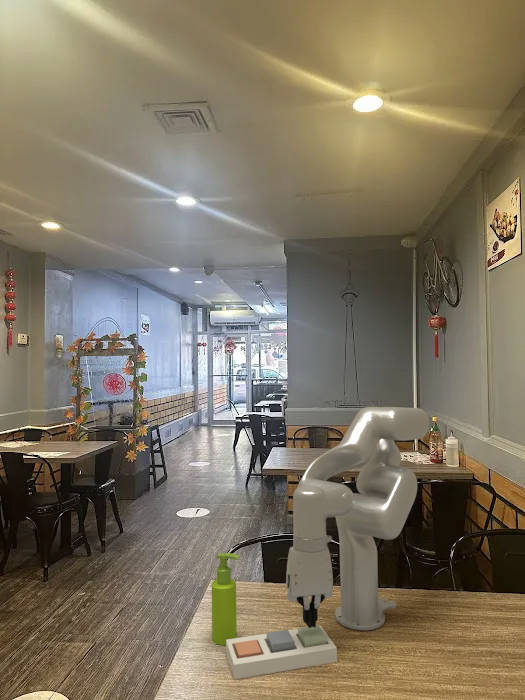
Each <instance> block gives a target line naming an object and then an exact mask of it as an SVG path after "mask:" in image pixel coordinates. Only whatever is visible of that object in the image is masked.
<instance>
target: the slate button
mask: <svg viewBox="0 0 525 700" xmlns="http://www.w3.org/2000/svg"><path fill="white" fill-rule="evenodd" d="M288 630H289V629H284V630H276V631H271V632H267V633H266V634H267V643H268V645H269V647H270V650H271V652H272V653H276V652H282V651H288V650H294V640H293V638H292V636H291V635H290V633H289V631H288Z"/></svg>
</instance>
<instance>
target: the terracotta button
mask: <svg viewBox="0 0 525 700" xmlns="http://www.w3.org/2000/svg"><path fill="white" fill-rule="evenodd" d="M234 649H235V654H236V657H237V659H238V658H245V657H251V656H257V655H262V654H261V650H260V647H259V645H258V643H257V641H256V640H251V641H244V642H238V643H234Z"/></svg>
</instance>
